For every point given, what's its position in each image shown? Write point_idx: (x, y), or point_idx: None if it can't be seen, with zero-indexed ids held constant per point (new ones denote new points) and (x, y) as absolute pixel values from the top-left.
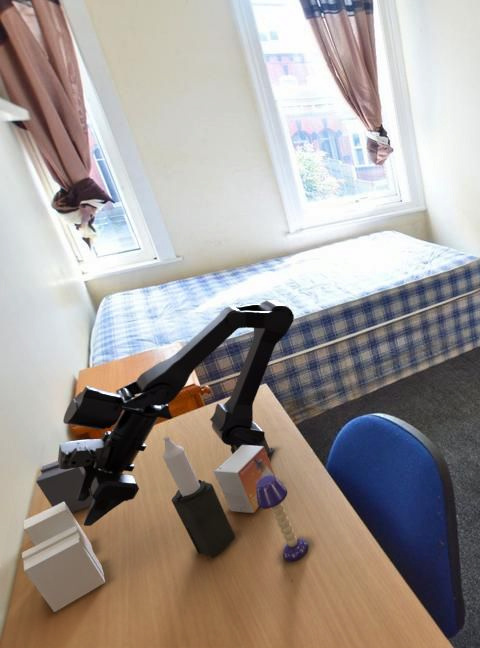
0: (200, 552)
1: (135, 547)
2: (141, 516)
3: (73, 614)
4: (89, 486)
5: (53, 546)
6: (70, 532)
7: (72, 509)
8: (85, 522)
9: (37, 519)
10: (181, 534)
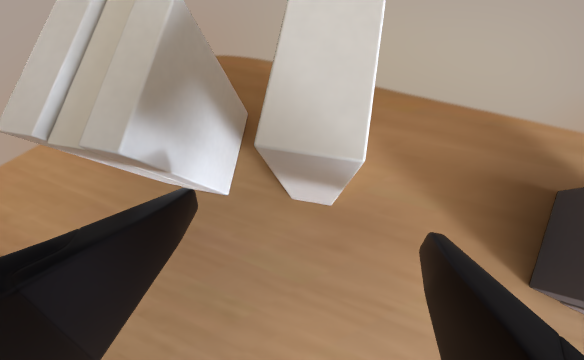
0: None
1: (206, 262)
2: (317, 328)
3: None
4: (462, 329)
5: (106, 70)
6: (90, 123)
7: (558, 224)
8: (168, 194)
9: (317, 32)
10: (131, 351)
